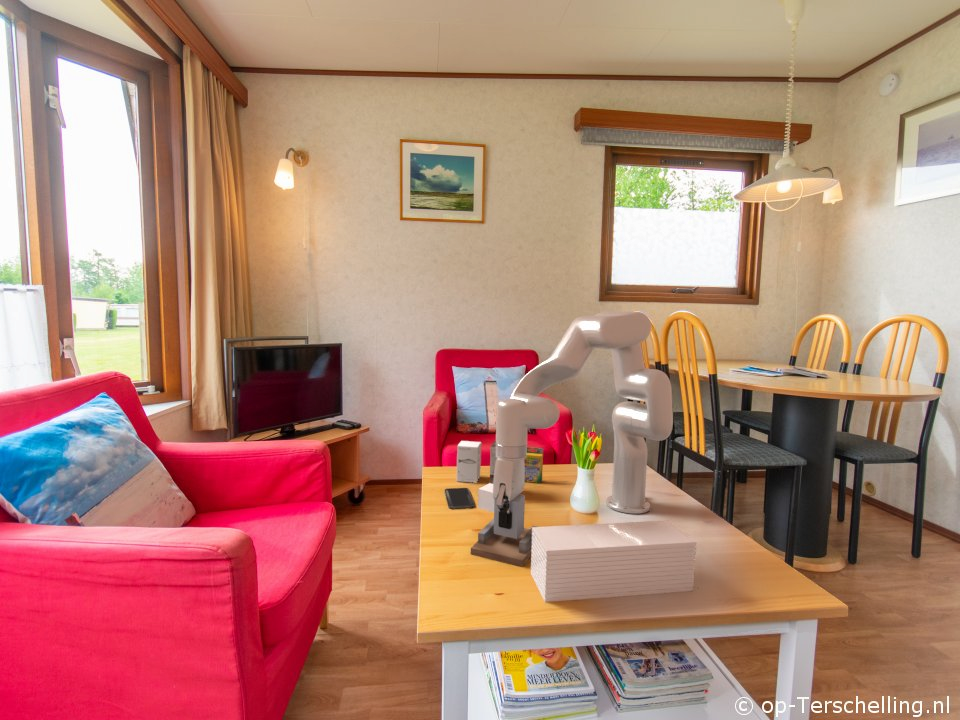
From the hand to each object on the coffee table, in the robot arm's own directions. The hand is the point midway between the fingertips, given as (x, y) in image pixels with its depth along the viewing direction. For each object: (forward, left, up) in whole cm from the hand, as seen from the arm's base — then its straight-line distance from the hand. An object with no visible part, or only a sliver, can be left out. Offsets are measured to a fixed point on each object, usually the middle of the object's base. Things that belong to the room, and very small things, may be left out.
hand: (509, 522), depth 117 cm
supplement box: (-39, -30, -6) cm, 50 cm away
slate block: (0, 0, -3) cm, 3 cm away
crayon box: (-47, -10, -6) cm, 48 cm away
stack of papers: (+5, +25, -6) cm, 27 cm away
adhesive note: (-20, -13, -6) cm, 25 cm away
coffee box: (-32, -15, -6) cm, 36 cm away
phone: (-21, -25, -7) cm, 33 cm away
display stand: (0, 0, -6) cm, 6 cm away
